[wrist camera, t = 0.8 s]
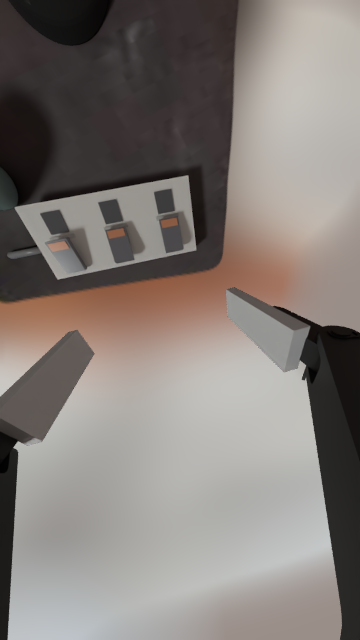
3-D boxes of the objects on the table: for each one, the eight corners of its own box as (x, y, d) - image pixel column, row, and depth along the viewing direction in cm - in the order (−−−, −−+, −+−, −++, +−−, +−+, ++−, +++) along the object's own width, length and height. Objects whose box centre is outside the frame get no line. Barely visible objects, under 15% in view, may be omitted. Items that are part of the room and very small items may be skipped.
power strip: (-13, 221, 26) (-43, 216, 22) (184, 185, 27) (188, 174, 24) (31, 284, 31) (14, 288, 28) (192, 250, 33) (196, 250, 29)
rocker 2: (107, 232, 26) (104, 229, 24) (126, 229, 26) (124, 225, 25) (117, 263, 27) (114, 262, 26) (134, 259, 27) (133, 258, 26)
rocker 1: (48, 241, 24) (43, 242, 23) (68, 237, 24) (65, 238, 23) (69, 271, 28) (66, 274, 27) (87, 268, 28) (85, 270, 27)
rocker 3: (159, 222, 26) (158, 219, 25) (177, 218, 26) (177, 215, 25) (165, 253, 27) (165, 251, 26) (183, 249, 28) (183, 247, 26)
